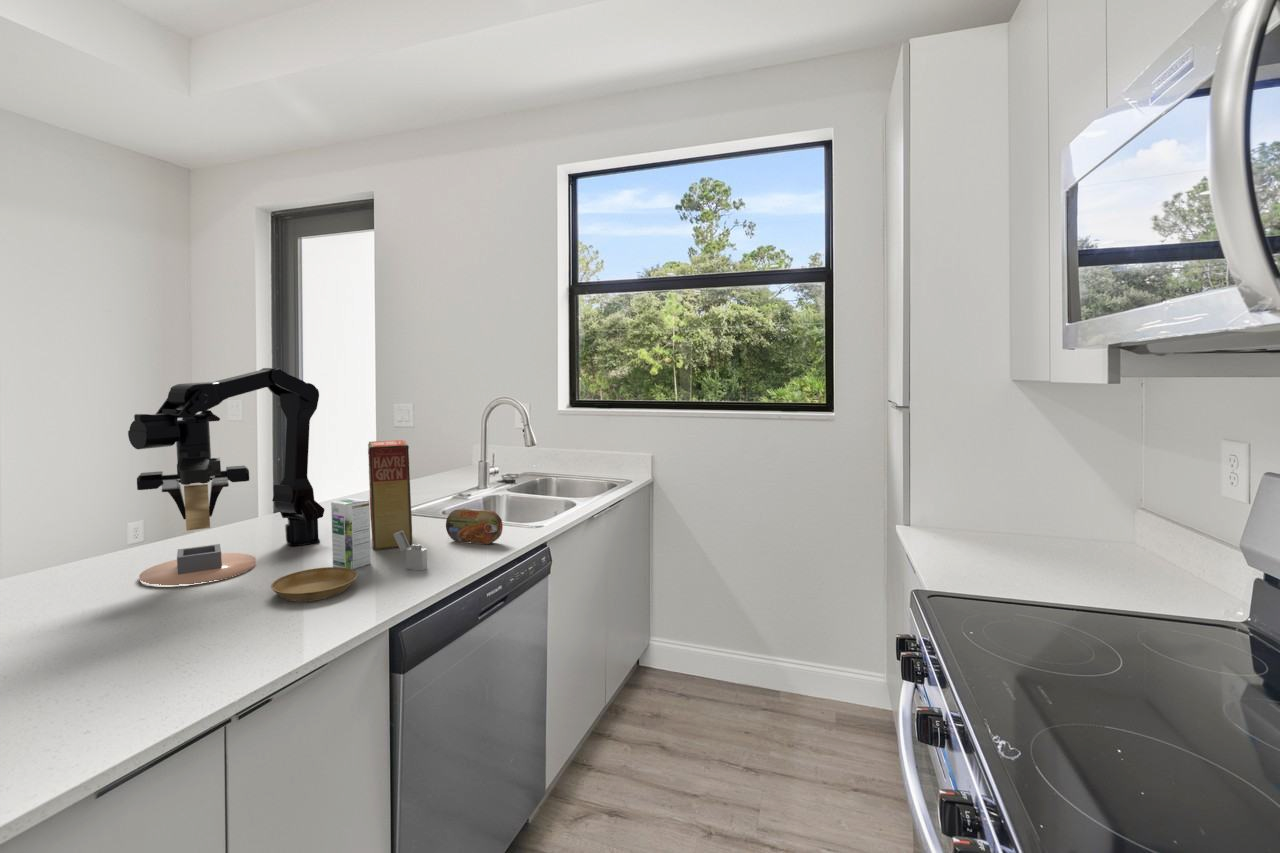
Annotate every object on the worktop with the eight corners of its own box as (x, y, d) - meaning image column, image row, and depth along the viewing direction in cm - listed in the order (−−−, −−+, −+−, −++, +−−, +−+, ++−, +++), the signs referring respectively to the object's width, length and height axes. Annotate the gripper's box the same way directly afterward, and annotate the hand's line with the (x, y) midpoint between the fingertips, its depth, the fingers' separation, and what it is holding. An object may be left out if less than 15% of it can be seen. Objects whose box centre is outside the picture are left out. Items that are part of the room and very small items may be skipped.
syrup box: (331, 567, 132) (329, 501, 131) (355, 560, 138) (353, 496, 136) (348, 571, 130) (346, 504, 128) (372, 563, 135) (370, 499, 134)
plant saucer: (368, 593, 118) (368, 579, 117) (282, 613, 107) (281, 598, 107) (343, 574, 128) (343, 562, 128) (263, 591, 118) (262, 578, 118)
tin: (445, 541, 154) (444, 508, 153) (452, 538, 157) (452, 505, 156) (498, 546, 149) (497, 512, 149) (504, 543, 152) (504, 509, 152)
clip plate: (252, 552, 143) (251, 533, 143) (259, 575, 127) (258, 554, 126) (142, 567, 131) (141, 547, 131) (135, 595, 115) (134, 571, 115)
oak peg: (209, 524, 131) (207, 482, 130) (210, 527, 128) (207, 485, 127) (186, 526, 129) (184, 484, 128) (186, 530, 125) (183, 487, 125)
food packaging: (370, 537, 157) (367, 440, 155) (409, 533, 161) (407, 439, 159) (371, 550, 145) (368, 446, 143) (413, 546, 149) (411, 444, 147)
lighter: (427, 568, 132) (426, 531, 132) (422, 570, 131) (421, 533, 130) (399, 565, 134) (398, 529, 133) (394, 567, 132) (393, 531, 132)
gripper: (132, 451, 115) (137, 532, 116) (249, 444, 126) (253, 519, 127) (136, 445, 124) (141, 521, 125) (245, 440, 135) (249, 509, 136)
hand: (197, 517), depth 128 cm, fingers closed on oak peg, 4 cm apart
